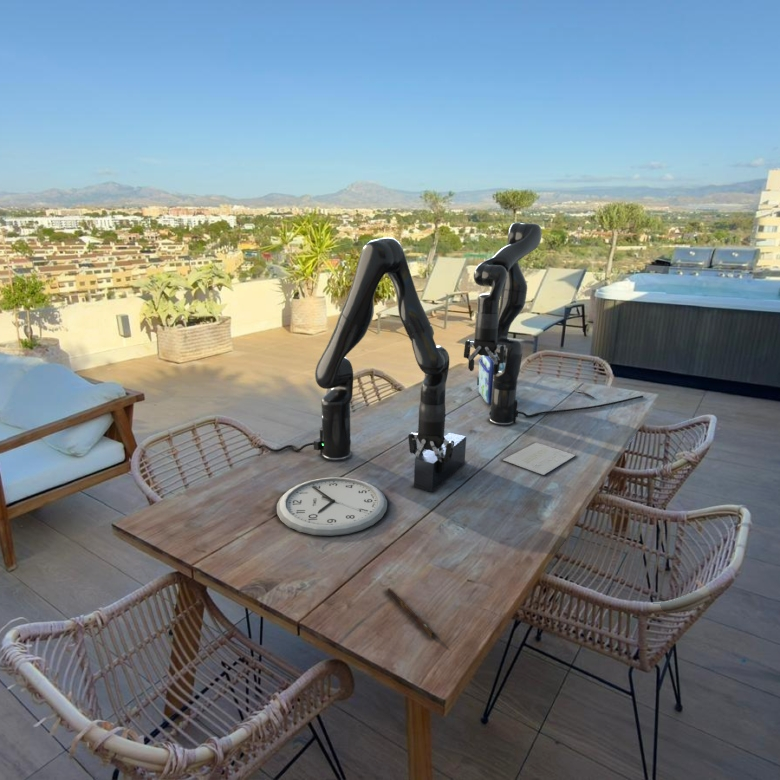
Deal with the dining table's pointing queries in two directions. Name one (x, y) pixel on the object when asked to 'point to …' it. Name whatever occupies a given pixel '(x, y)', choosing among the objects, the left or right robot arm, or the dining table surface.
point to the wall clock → (331, 506)
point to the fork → (581, 391)
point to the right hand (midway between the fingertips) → (483, 372)
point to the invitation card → (539, 458)
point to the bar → (428, 464)
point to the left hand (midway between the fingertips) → (429, 469)
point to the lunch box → (486, 377)
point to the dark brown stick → (411, 612)
